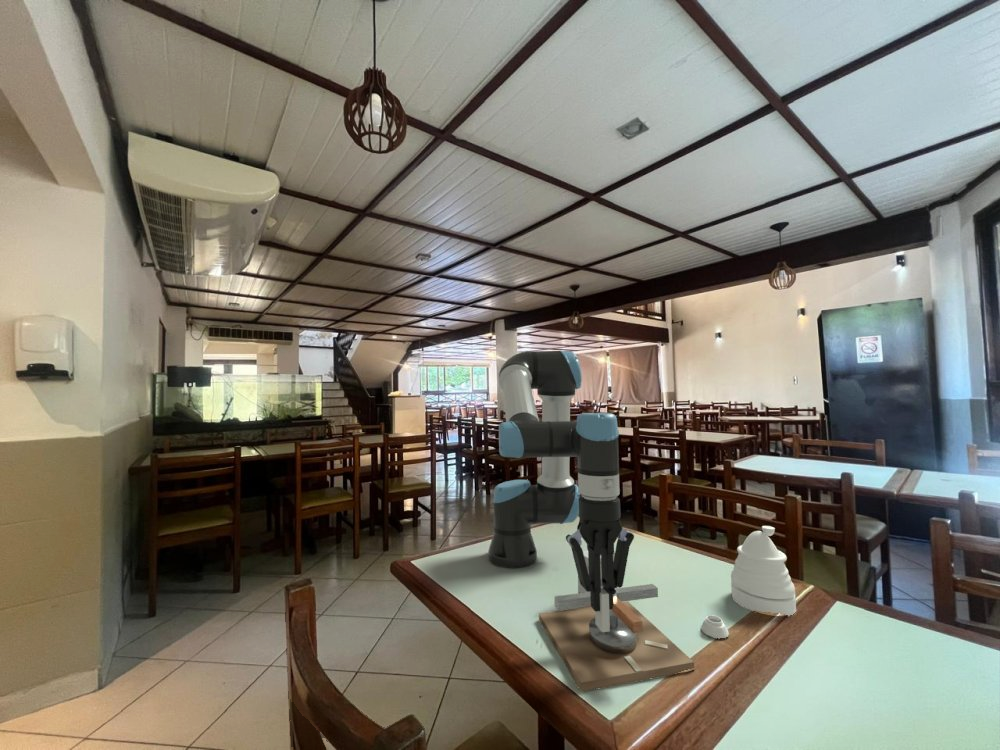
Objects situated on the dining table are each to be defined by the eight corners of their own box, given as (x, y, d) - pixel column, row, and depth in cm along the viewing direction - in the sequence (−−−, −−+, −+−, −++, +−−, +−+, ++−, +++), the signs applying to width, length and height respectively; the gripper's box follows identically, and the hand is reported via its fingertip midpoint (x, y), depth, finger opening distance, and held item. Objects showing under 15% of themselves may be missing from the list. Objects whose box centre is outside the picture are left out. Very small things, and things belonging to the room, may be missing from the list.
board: (539, 620, 86) (539, 612, 86) (628, 607, 91) (627, 600, 91) (581, 692, 65) (580, 681, 65) (694, 670, 70) (693, 660, 70)
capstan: (539, 611, 86) (538, 569, 87) (627, 599, 91) (626, 559, 92) (580, 680, 65) (579, 623, 66) (693, 659, 70) (691, 607, 71)
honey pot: (799, 601, 93) (794, 525, 95) (792, 623, 84) (787, 538, 85) (738, 584, 102) (734, 515, 103) (725, 603, 93) (722, 526, 94)
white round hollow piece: (712, 624, 84) (696, 630, 82) (711, 610, 85) (695, 615, 83) (734, 637, 80) (717, 643, 78) (733, 622, 80) (716, 628, 78)
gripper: (574, 503, 67) (577, 645, 66) (641, 498, 70) (646, 634, 68) (558, 493, 75) (561, 621, 73) (620, 489, 77) (624, 612, 76)
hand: (602, 627), depth 71 cm, fingers closed
